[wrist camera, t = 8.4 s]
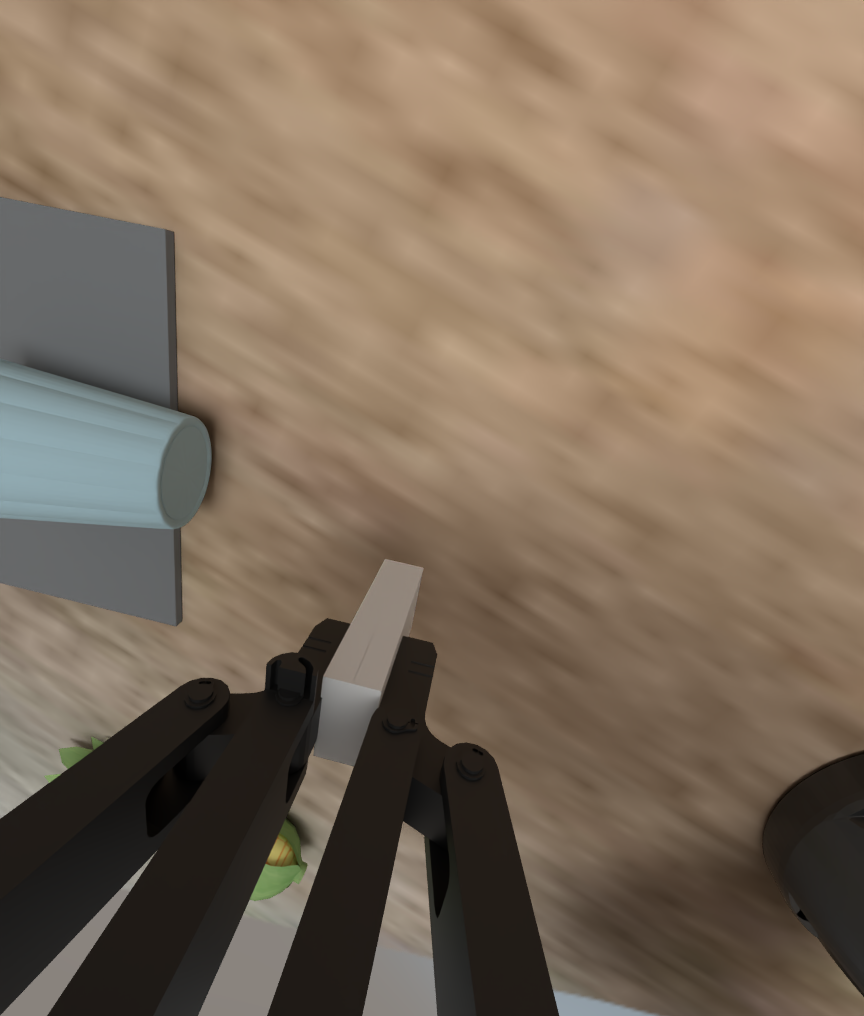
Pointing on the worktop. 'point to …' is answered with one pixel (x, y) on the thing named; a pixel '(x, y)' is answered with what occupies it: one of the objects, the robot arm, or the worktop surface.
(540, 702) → the worktop surface
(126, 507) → the cup
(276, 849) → the edible corn
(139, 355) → the mat
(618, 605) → the worktop surface
